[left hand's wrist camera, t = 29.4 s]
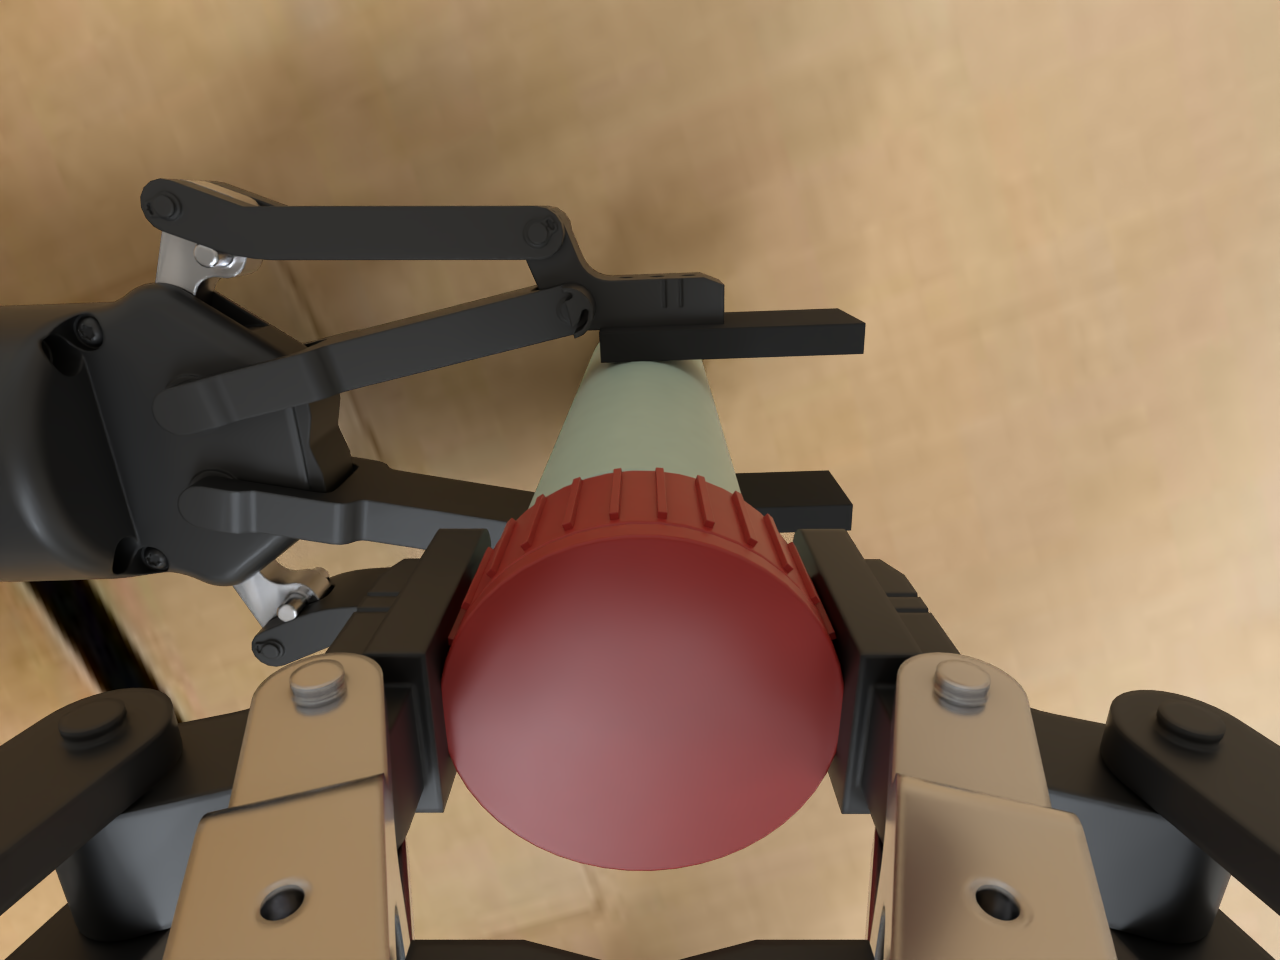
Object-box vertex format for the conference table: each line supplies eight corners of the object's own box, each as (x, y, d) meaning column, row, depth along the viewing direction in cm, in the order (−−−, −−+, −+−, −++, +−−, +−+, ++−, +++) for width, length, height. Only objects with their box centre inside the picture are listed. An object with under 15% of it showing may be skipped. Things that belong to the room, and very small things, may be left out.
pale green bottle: (719, 407, 26) (820, 730, 10) (614, 447, 27) (554, 811, 11) (679, 299, 25) (722, 474, 9) (570, 343, 26) (426, 581, 10)
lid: (858, 502, 10) (909, 577, 8) (762, 785, 12) (787, 902, 10) (495, 431, 10) (459, 490, 8) (451, 733, 12) (412, 843, 10)
